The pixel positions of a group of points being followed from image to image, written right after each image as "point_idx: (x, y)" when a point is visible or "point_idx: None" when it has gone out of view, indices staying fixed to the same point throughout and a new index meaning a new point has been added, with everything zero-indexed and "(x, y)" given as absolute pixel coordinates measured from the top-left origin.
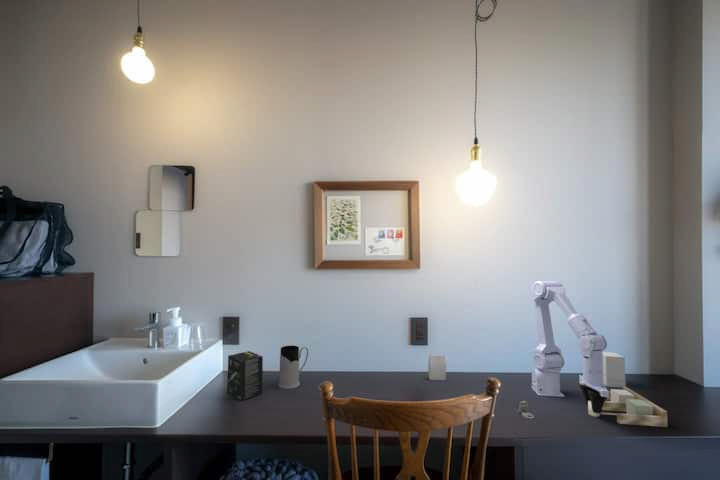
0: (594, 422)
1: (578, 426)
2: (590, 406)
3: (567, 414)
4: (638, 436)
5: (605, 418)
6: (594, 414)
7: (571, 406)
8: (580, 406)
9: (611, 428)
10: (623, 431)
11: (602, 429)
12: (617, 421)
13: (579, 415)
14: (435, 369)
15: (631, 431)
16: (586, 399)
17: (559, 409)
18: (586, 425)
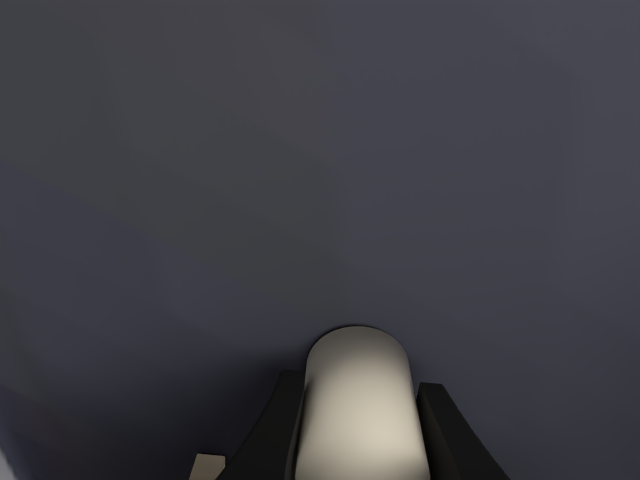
0: (185, 278)
1: (19, 26)
2: (334, 401)
3: (363, 72)
4: (5, 458)
5: None
6: (310, 363)
7: (590, 258)
8: (573, 352)
9: (88, 355)
10: (59, 411)
11: (36, 266)
12: (214, 465)
13: (342, 216)
14: None
15: (80, 461)
16: (449, 455)
17: (525, 37)
18: (82, 150)
